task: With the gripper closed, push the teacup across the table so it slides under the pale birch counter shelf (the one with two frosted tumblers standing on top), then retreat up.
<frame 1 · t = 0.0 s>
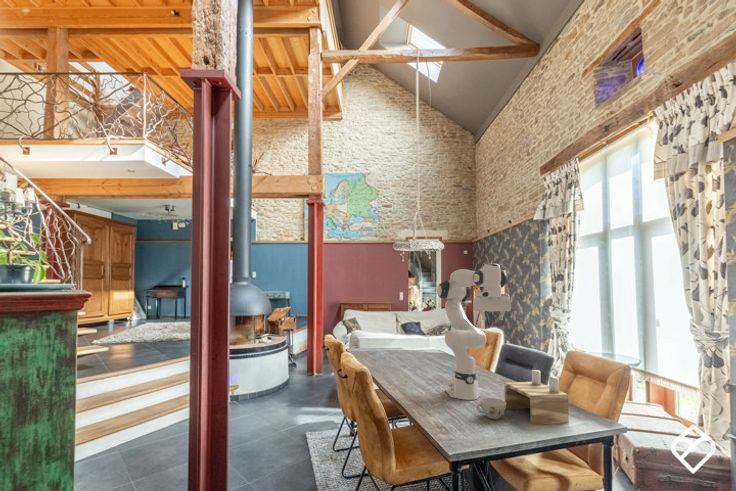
hand: (492, 320, 199), 48 cm above the table, fingers open, 8 cm apart
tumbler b: (554, 391, 192), point 13 cm above the table, touching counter
teacup: (491, 417, 191), on the table
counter: (535, 414, 196), on the table
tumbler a: (536, 384, 206), point 13 cm above the table, touching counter
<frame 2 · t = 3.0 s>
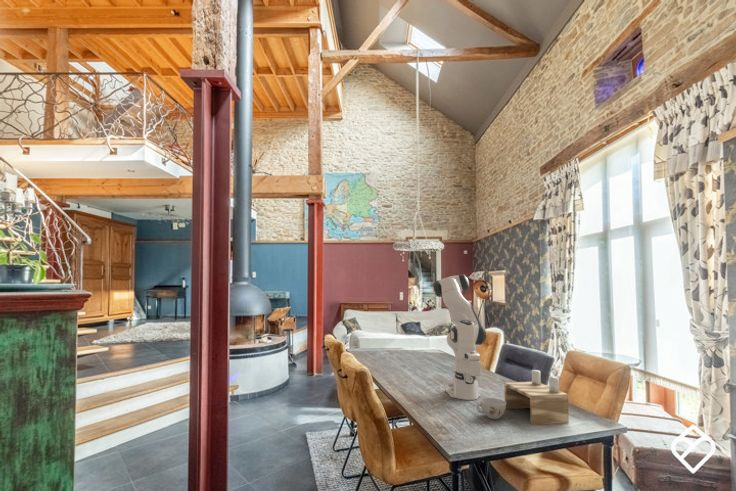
hand: (467, 381, 190), 18 cm above the table, fingers closed
nothing on the table moved.
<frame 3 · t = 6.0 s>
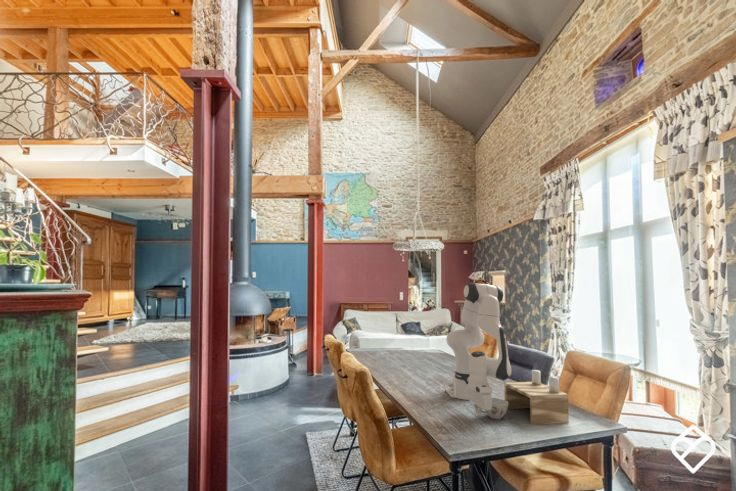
hand: (478, 413, 190), 2 cm above the table, fingers closed
teacup: (492, 417, 191), on the table, touching gripper
everything else where it was.
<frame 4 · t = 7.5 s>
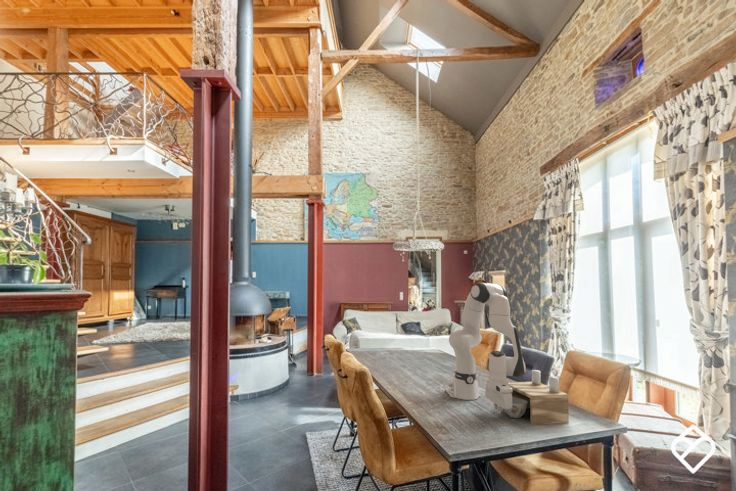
hand: (497, 412, 192), 2 cm above the table, fingers closed
teacup: (512, 416, 193), on the table, touching gripper
everything else where it was.
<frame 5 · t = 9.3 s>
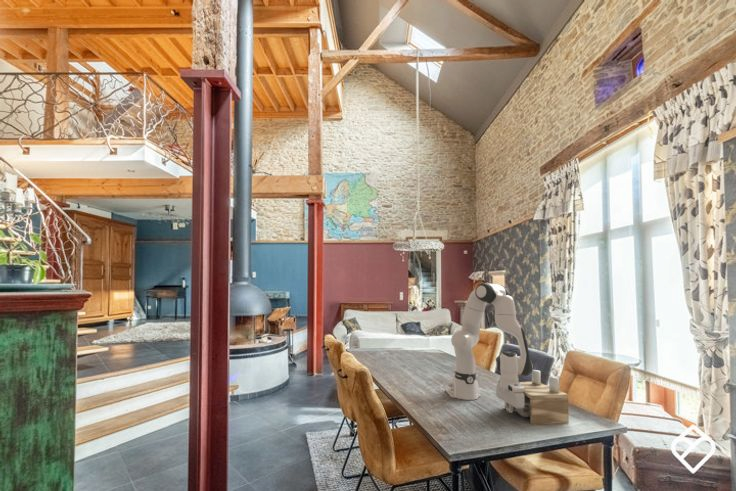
hand: (509, 412, 193), 2 cm above the table, fingers closed
teacup: (523, 415, 195), on the table, touching gripper
everything else where it was.
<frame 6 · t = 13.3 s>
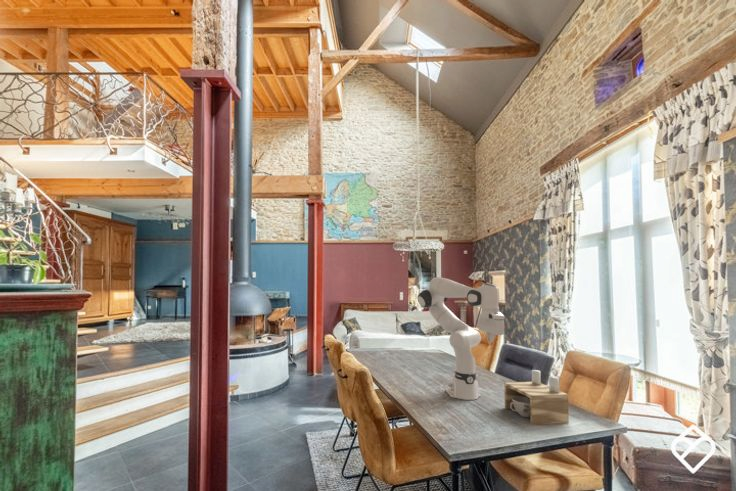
hand: (490, 341, 197), 37 cm above the table, fingers closed
teacup: (523, 415, 195), on the table
everything else where it was.
at the end: teacup inside the target area on the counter (5.5 cm from its centre), point 0.0 cm above the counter's base; teacup tilted 0°; teacup moved 18.5 cm from its start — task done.
